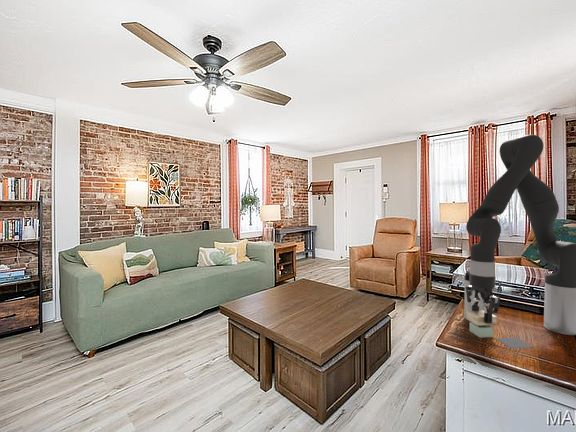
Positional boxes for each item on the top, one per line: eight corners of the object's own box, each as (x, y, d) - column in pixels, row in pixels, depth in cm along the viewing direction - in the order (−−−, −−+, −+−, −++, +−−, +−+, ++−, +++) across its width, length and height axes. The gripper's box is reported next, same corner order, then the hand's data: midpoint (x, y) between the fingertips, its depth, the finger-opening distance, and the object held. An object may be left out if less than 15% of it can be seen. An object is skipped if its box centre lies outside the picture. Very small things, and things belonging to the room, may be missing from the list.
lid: (485, 318, 102) (485, 310, 102) (496, 324, 96) (496, 316, 96) (466, 318, 101) (466, 310, 101) (477, 325, 96) (477, 317, 96)
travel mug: (486, 324, 108) (487, 274, 107) (468, 323, 109) (469, 273, 109) (479, 317, 114) (480, 270, 113) (461, 316, 116) (462, 269, 115)
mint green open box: (482, 332, 102) (482, 321, 102) (493, 338, 97) (493, 327, 97) (469, 332, 102) (469, 322, 101) (479, 339, 97) (479, 328, 96)
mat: (516, 339, 96) (517, 337, 96) (534, 348, 90) (534, 347, 90) (494, 339, 96) (494, 338, 96) (510, 349, 89) (510, 347, 89)
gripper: (509, 278, 91) (508, 328, 92) (477, 268, 105) (477, 311, 106) (487, 278, 91) (486, 328, 92) (458, 268, 105) (458, 311, 106)
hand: (481, 319), depth 99 cm, fingers closed on lid, 5 cm apart
